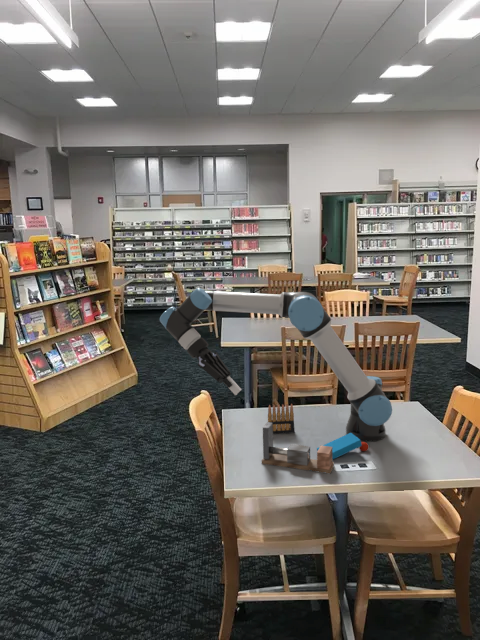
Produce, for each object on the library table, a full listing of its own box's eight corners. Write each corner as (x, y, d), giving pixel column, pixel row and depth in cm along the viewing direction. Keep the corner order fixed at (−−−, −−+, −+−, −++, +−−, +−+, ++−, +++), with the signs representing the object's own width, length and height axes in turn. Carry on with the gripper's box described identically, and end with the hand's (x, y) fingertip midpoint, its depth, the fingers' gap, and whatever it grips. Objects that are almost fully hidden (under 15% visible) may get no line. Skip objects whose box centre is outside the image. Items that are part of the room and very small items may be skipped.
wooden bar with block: (261, 463, 171) (261, 445, 169) (267, 456, 176) (266, 438, 175) (330, 473, 162) (330, 454, 161) (333, 465, 167) (333, 446, 166)
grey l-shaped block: (263, 458, 171) (262, 427, 169) (267, 452, 175) (267, 422, 173) (307, 465, 165) (306, 432, 163) (310, 458, 169) (310, 427, 167)
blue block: (330, 473, 172) (373, 452, 176) (325, 456, 170) (369, 435, 174) (321, 464, 178) (363, 445, 182) (316, 448, 177) (359, 428, 181)
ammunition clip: (293, 430, 198) (293, 402, 196) (294, 432, 196) (294, 404, 194) (267, 432, 197) (266, 403, 195) (268, 434, 195) (267, 405, 193)
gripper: (195, 346, 183) (238, 393, 180) (179, 354, 171) (224, 405, 168) (208, 333, 180) (251, 380, 177) (191, 340, 168) (238, 391, 165)
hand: (238, 392), depth 172 cm, fingers closed
